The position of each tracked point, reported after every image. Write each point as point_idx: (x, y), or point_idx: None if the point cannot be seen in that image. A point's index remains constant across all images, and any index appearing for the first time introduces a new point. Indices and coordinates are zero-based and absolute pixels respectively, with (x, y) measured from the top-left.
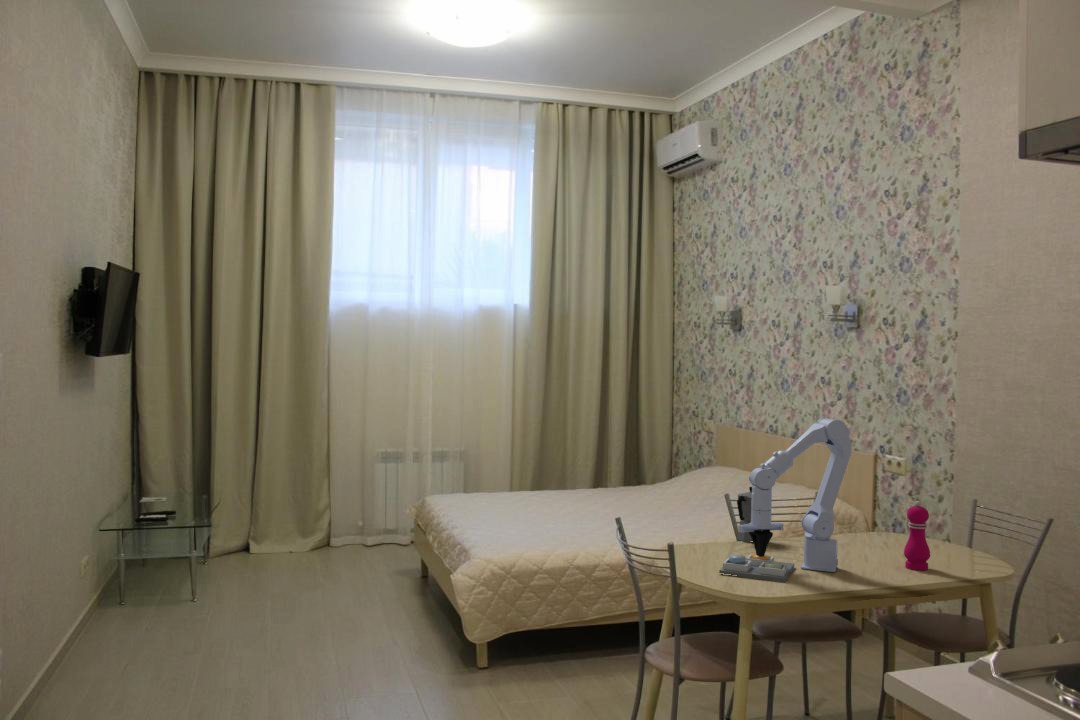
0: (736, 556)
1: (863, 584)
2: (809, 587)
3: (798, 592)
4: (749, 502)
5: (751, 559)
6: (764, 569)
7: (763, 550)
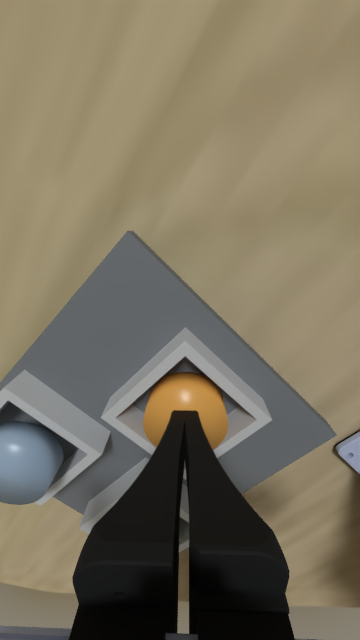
0: (3, 474)
1: (349, 592)
2: (183, 576)
3: None
4: None
5: (120, 430)
6: None
7: (186, 476)
